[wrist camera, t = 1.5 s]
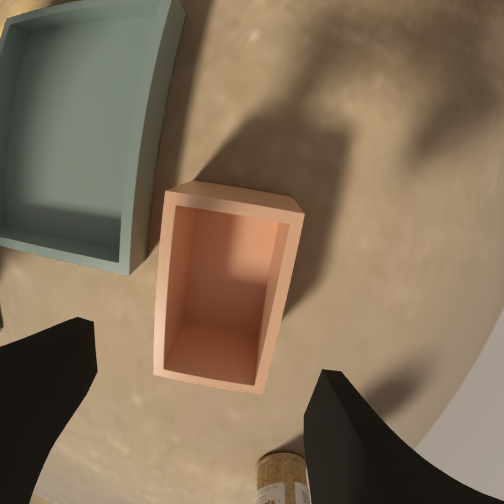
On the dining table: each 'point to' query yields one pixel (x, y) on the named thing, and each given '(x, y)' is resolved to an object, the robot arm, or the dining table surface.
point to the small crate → (222, 283)
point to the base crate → (84, 127)
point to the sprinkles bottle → (282, 480)
